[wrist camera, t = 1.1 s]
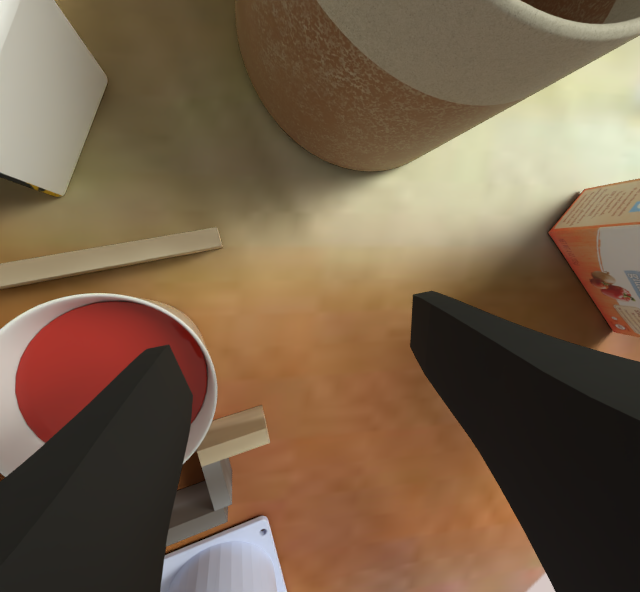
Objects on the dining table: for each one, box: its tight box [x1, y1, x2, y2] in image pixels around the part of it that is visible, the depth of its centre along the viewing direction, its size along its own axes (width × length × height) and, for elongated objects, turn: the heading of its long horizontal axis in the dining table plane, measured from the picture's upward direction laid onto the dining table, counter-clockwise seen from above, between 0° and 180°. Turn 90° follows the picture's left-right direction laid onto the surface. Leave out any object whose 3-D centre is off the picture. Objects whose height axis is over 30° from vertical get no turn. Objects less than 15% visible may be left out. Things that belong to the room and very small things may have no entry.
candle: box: [0, 293, 217, 477], centre depth 16 cm, size 9×9×6 cm
